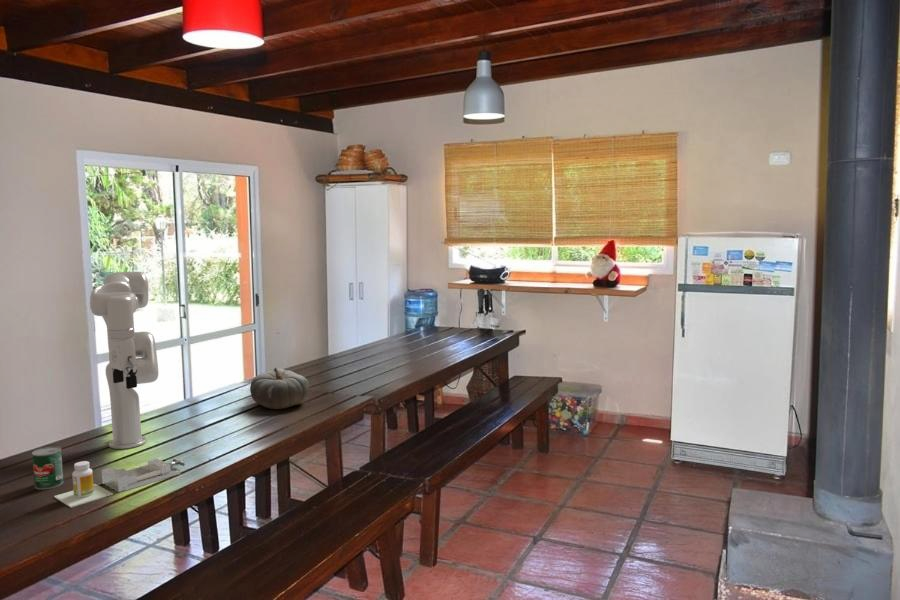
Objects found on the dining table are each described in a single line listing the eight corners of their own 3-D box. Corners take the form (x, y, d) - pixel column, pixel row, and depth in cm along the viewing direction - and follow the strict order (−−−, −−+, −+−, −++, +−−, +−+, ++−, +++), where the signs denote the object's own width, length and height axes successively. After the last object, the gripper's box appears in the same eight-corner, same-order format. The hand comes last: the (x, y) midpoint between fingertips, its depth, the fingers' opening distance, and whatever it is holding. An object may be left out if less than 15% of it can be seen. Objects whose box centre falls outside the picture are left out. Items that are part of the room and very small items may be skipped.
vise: (102, 483, 216) (101, 469, 216) (171, 463, 234) (170, 450, 233) (119, 492, 209) (118, 478, 208) (189, 471, 226) (188, 457, 226)
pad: (54, 497, 206) (54, 496, 206) (95, 485, 215) (95, 483, 215) (70, 507, 198) (70, 506, 198) (113, 494, 207) (113, 493, 207)
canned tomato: (32, 491, 211) (29, 456, 209) (36, 482, 218) (33, 448, 216) (62, 487, 214) (59, 452, 212) (65, 478, 221) (62, 445, 220)
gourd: (277, 389, 323) (278, 354, 318) (320, 403, 313) (321, 368, 308) (239, 407, 301) (239, 371, 296) (284, 423, 291) (285, 386, 286)
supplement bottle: (97, 490, 209) (95, 459, 208) (88, 497, 204) (86, 466, 203) (79, 491, 209) (77, 460, 208) (70, 498, 204) (67, 466, 203)
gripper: (98, 331, 225) (102, 382, 228) (121, 339, 214) (125, 392, 217) (121, 328, 231) (125, 378, 234) (145, 335, 220) (148, 387, 222)
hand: (125, 385), depth 225 cm, fingers open, 9 cm apart
